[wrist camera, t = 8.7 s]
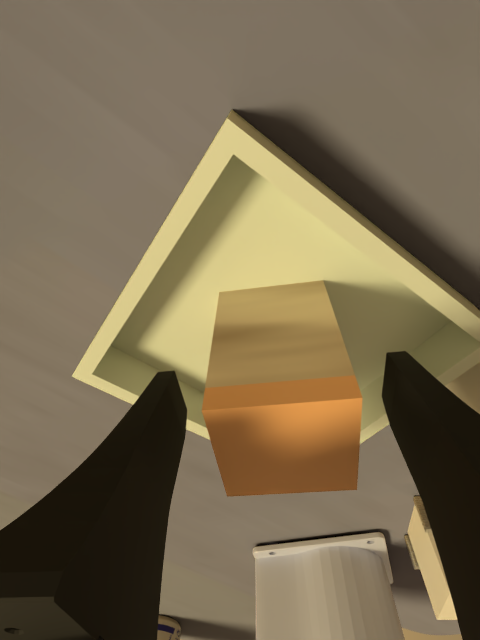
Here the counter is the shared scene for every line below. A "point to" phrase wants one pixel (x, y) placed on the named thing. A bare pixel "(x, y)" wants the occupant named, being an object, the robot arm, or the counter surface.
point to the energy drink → (168, 629)
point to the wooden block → (281, 393)
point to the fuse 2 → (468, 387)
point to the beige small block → (431, 569)
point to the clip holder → (426, 527)
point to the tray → (274, 280)
